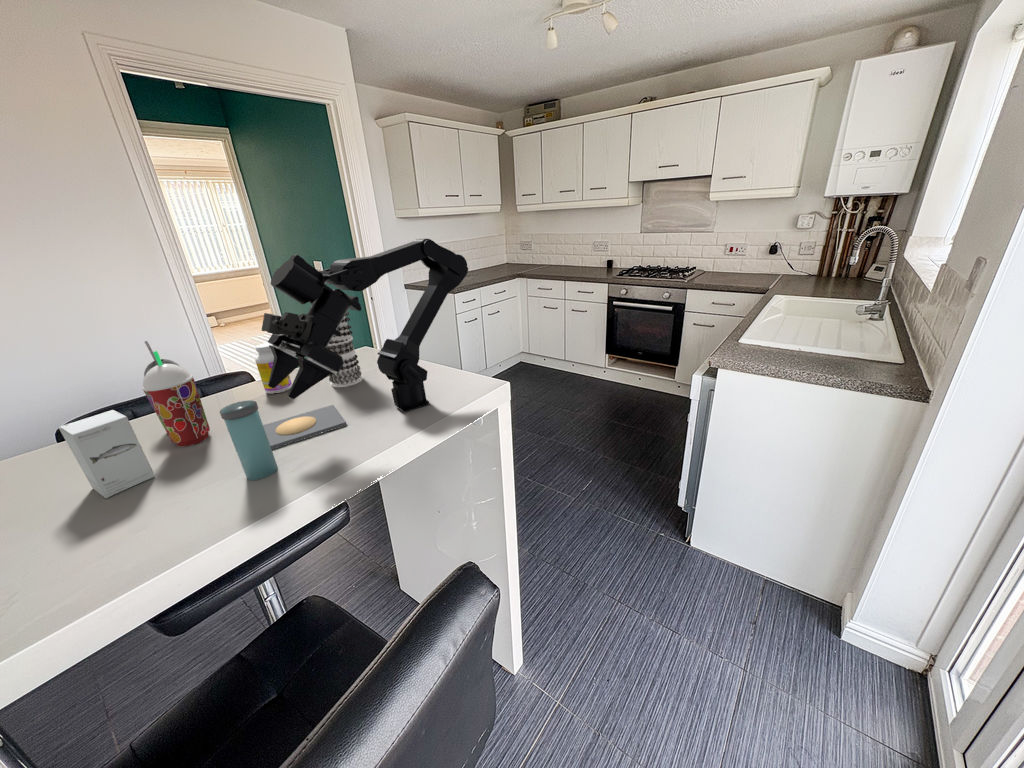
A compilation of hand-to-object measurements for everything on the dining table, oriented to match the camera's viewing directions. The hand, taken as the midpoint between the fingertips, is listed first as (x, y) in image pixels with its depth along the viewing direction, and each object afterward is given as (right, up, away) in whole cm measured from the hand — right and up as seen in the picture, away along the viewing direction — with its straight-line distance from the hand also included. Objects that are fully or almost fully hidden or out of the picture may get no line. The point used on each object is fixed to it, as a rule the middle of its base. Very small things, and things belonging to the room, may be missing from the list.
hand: (280, 392), depth 74 cm
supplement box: (-29, -17, +1) cm, 33 cm away
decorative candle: (-4, +2, +40) cm, 41 cm away
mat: (-5, -8, +15) cm, 18 cm away
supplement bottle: (-22, 0, +39) cm, 44 cm away
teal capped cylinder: (-3, -14, 0) cm, 15 cm away
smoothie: (-27, -11, +14) cm, 32 cm away
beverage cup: (-36, -8, +23) cm, 43 cm away
